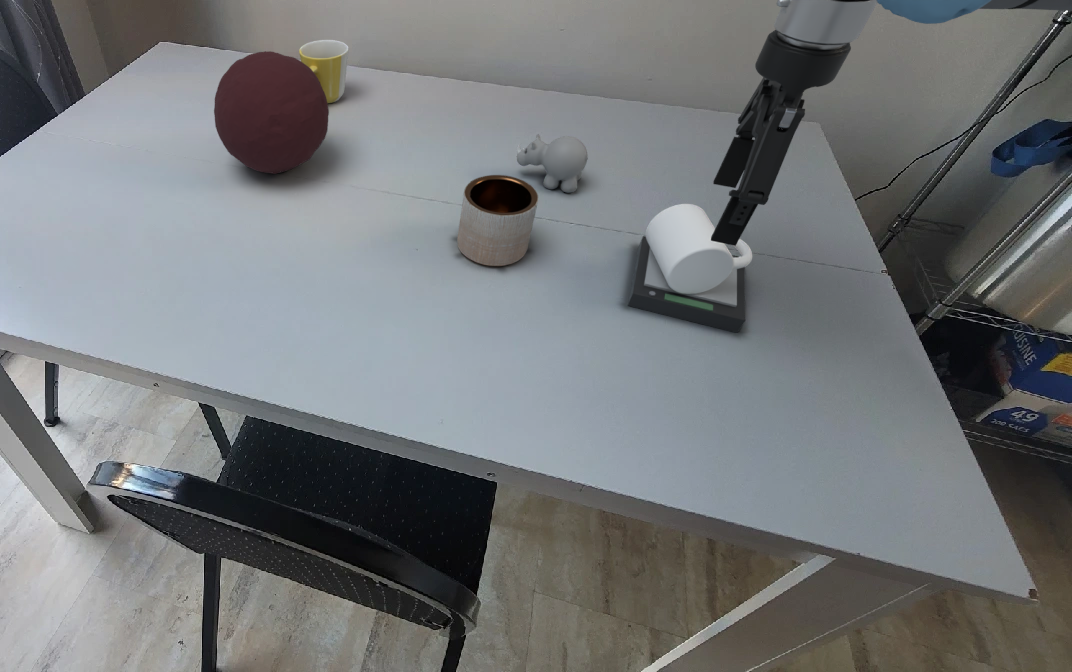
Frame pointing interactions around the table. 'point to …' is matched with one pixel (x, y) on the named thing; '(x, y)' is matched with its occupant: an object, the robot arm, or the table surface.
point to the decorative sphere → (271, 112)
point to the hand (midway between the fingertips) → (723, 211)
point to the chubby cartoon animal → (556, 160)
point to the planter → (496, 219)
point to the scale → (687, 295)
